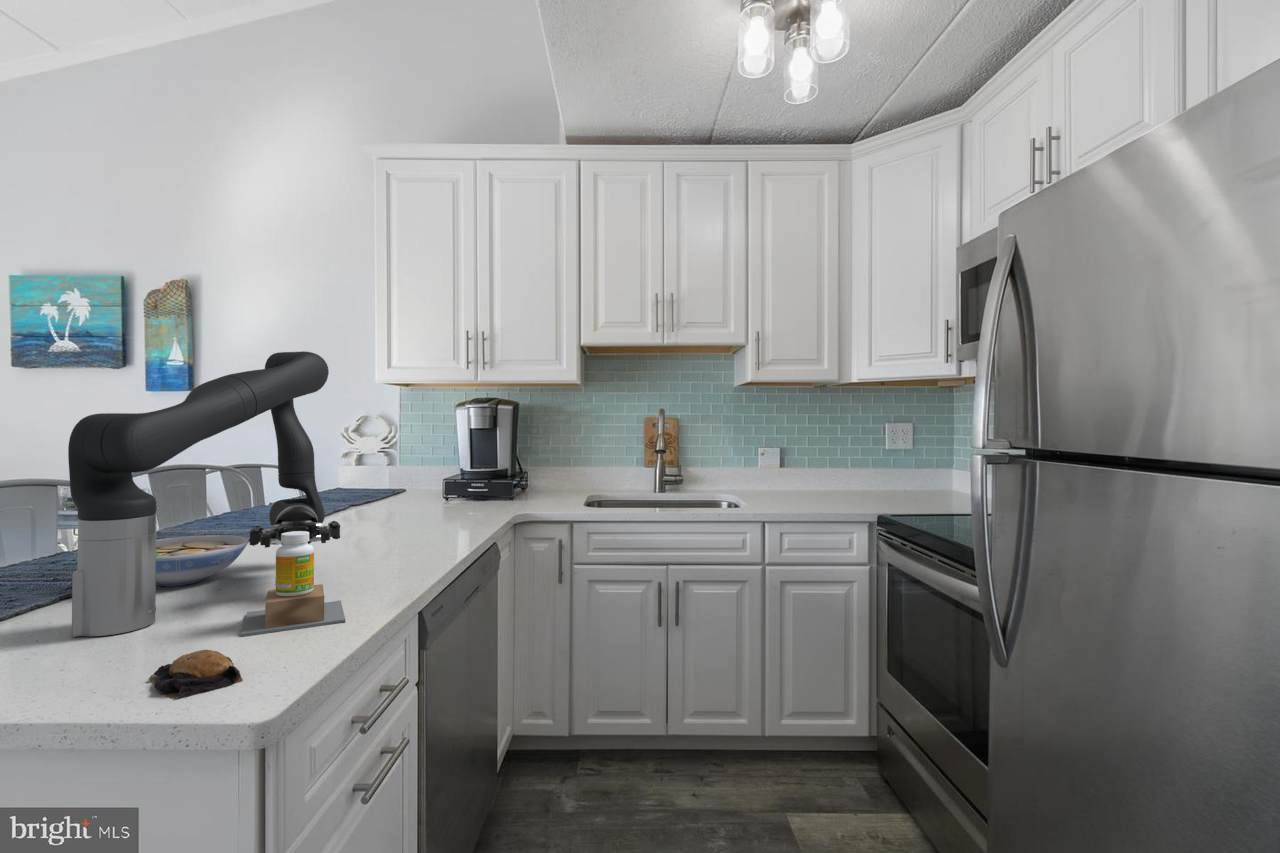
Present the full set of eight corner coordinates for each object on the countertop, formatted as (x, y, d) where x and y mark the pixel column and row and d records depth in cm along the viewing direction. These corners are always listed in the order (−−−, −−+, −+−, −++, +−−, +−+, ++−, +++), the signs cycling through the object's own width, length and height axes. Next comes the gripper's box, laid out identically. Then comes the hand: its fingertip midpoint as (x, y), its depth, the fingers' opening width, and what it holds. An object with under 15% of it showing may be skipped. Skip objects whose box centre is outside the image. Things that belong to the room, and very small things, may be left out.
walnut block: (265, 628, 92) (265, 602, 92) (267, 614, 98) (267, 590, 98) (324, 620, 96) (324, 595, 96) (322, 607, 102) (322, 584, 102)
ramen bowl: (251, 587, 116) (251, 545, 116) (93, 606, 103) (93, 559, 103) (247, 562, 137) (247, 527, 137) (115, 576, 124) (115, 536, 124)
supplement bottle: (296, 598, 94) (297, 536, 94) (267, 596, 95) (267, 535, 95) (321, 589, 99) (321, 530, 99) (293, 587, 100) (293, 529, 100)
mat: (241, 636, 89) (241, 633, 89) (246, 614, 100) (247, 612, 100) (345, 622, 96) (345, 619, 96) (340, 602, 107) (340, 600, 107)
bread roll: (144, 683, 75) (144, 653, 75) (223, 662, 81) (223, 635, 81) (165, 708, 68) (165, 676, 68) (250, 684, 74) (250, 654, 74)
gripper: (254, 508, 115) (247, 520, 100) (337, 504, 122) (342, 515, 108) (254, 547, 115) (247, 565, 100) (337, 541, 122) (341, 556, 108)
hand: (296, 539), depth 104 cm, fingers open, 8 cm apart
